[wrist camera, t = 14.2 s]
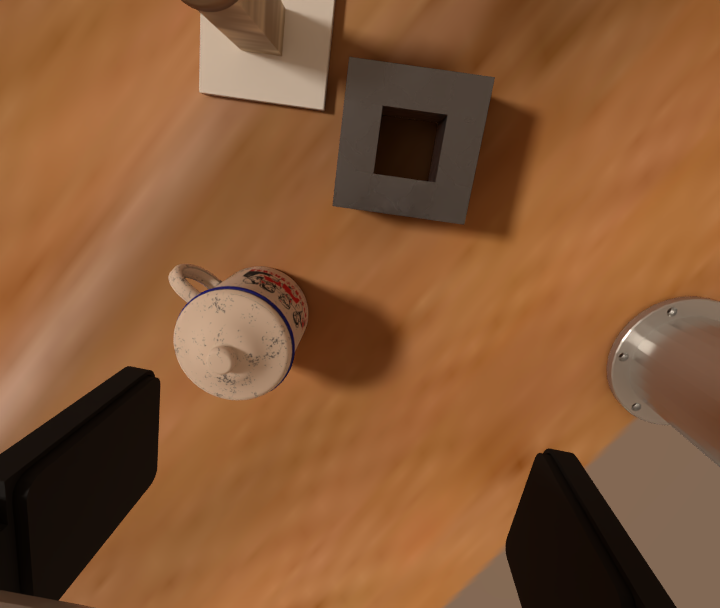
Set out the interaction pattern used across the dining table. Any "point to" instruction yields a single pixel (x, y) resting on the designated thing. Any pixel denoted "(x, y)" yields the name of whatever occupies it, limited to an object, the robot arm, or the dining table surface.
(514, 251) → the dining table surface
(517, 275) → the dining table surface
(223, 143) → the dining table surface
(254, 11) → the peg
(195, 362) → the teacup with lid
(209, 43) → the tile
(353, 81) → the eye block
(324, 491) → the dining table surface
